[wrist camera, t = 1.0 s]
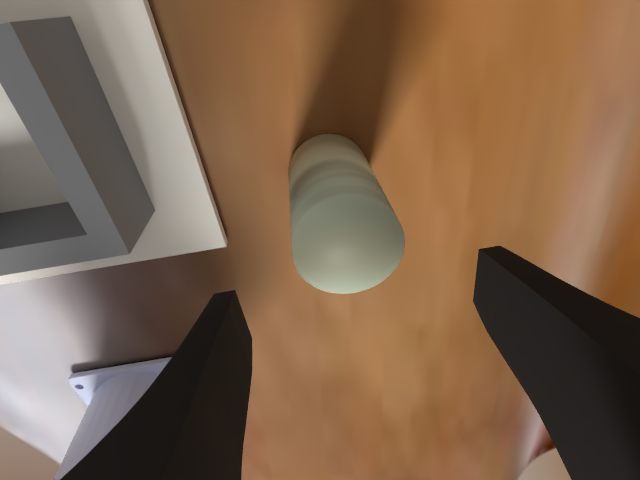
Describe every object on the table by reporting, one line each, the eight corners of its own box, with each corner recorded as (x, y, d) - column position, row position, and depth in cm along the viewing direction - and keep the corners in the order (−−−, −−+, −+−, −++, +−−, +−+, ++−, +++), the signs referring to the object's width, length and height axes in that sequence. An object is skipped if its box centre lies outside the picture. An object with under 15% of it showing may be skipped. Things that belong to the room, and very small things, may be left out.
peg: (369, 200, 20) (405, 284, 14) (296, 213, 20) (302, 301, 14) (363, 127, 18) (404, 190, 12) (281, 141, 18) (282, 210, 12)
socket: (227, 240, 21) (216, 293, 17) (-23, 282, 21) (-88, 344, 17) (117, -91, 13) (53, -125, 9) (-280, -25, 13) (-497, -32, 9)
